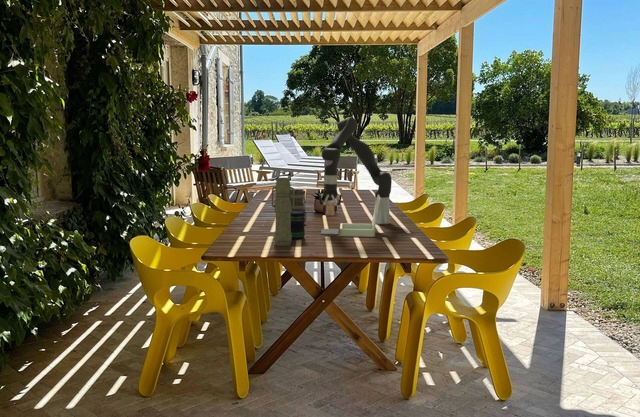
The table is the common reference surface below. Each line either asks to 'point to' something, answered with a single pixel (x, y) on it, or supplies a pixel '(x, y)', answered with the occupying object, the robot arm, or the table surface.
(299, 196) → the mug
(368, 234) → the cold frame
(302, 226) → the storage jar
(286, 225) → the thermos
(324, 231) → the slate mat
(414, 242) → the table surface
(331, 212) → the pot
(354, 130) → the robot arm
